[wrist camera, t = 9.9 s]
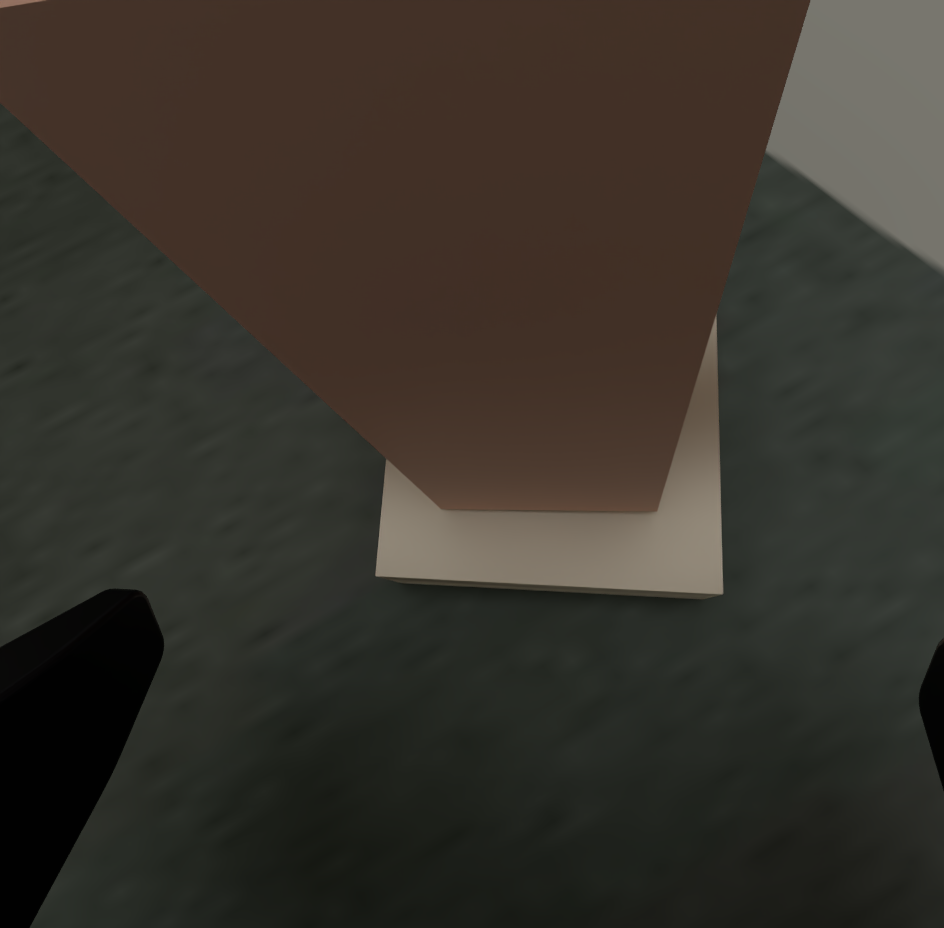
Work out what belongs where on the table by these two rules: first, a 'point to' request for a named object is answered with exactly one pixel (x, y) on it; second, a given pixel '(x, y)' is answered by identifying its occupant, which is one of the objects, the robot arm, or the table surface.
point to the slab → (574, 529)
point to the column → (438, 205)
